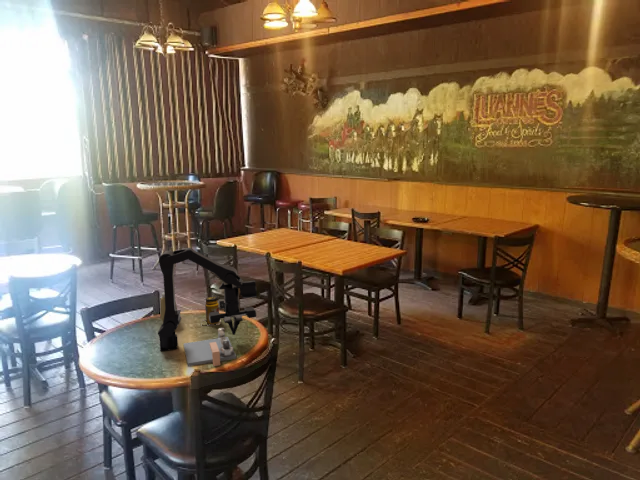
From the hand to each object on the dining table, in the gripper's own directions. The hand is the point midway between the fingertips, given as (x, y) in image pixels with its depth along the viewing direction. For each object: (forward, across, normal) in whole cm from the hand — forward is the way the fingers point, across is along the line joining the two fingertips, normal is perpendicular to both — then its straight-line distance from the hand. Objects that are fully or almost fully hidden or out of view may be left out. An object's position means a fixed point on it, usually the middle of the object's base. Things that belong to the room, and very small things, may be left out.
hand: (233, 334), depth 207 cm
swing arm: (+2, +5, +7) cm, 9 cm away
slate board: (+3, +11, +6) cm, 13 cm away
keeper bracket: (+3, +10, +14) cm, 17 cm away
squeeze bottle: (+4, +24, -35) cm, 43 cm away
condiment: (+4, +6, -27) cm, 28 cm away
